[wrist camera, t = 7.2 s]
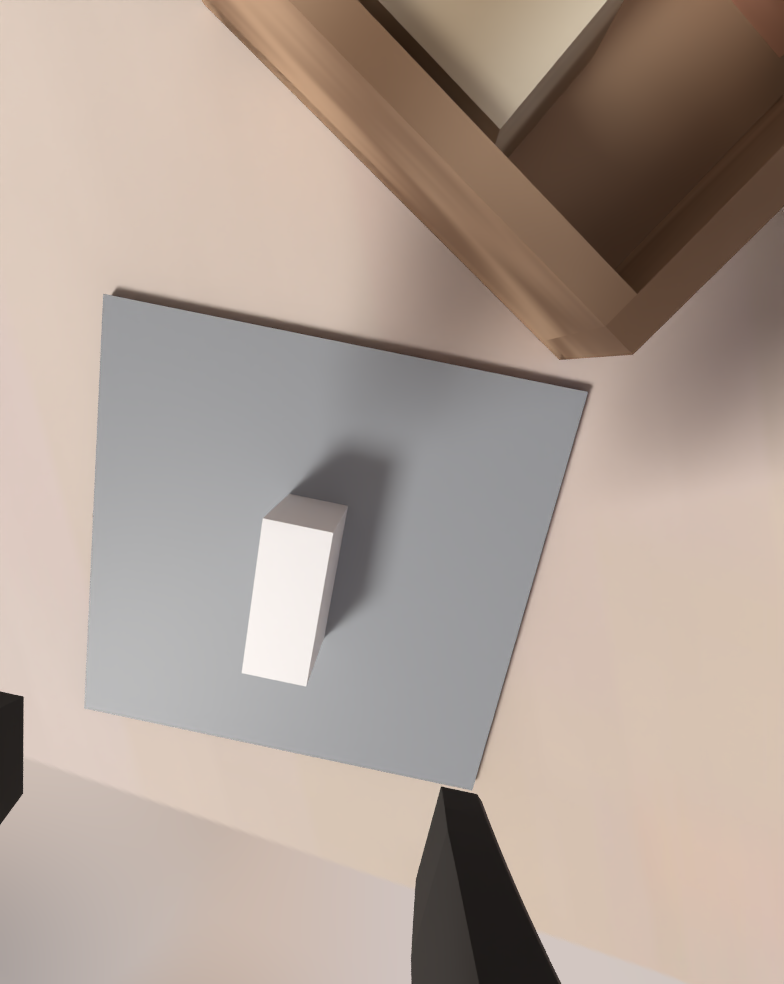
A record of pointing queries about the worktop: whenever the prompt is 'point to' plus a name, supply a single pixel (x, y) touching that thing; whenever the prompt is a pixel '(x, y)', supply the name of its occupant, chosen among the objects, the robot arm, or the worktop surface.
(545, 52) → the cream block
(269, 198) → the worktop surface
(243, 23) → the storage box
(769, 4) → the terracotta block
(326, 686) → the lid
